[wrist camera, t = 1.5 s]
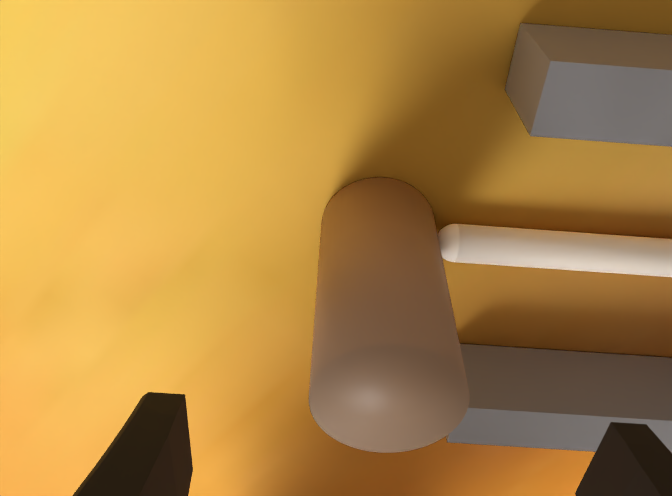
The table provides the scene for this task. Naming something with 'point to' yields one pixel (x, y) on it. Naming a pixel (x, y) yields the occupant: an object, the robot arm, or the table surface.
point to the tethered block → (419, 308)
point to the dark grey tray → (557, 365)
